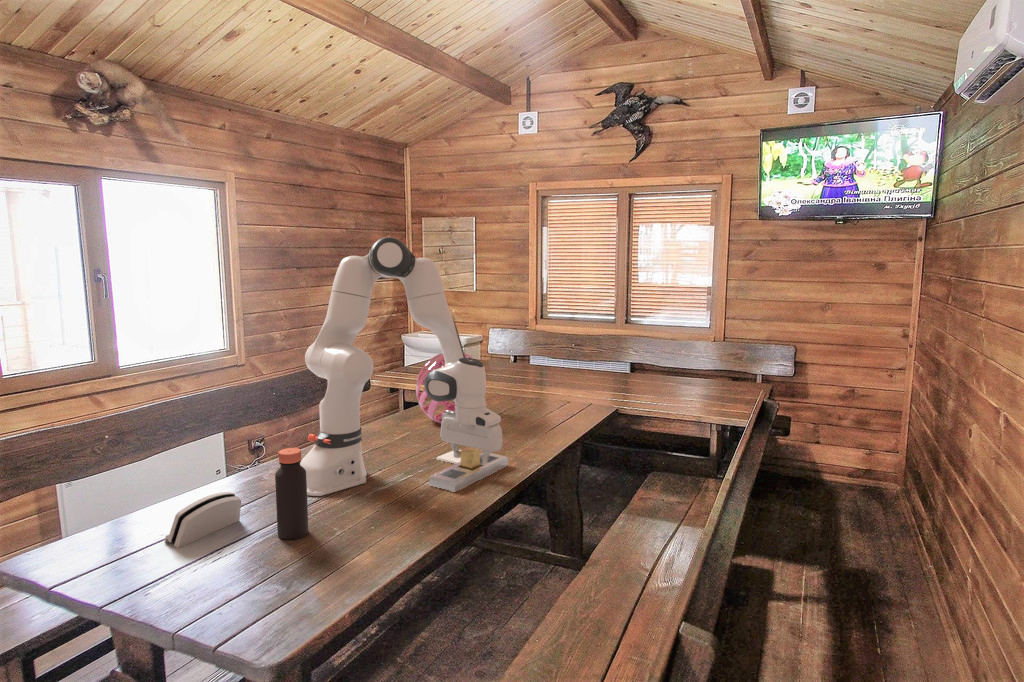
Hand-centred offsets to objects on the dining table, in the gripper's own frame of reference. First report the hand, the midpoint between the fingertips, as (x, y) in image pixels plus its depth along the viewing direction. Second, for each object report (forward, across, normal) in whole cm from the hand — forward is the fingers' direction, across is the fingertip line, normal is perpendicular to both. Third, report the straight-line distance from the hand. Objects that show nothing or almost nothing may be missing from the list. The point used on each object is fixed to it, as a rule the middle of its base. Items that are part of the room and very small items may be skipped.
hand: (470, 460), depth 189 cm
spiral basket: (+5, -42, +43) cm, 60 cm away
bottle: (+5, -11, -54) cm, 55 cm away
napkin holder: (+5, -28, -65) cm, 71 cm away
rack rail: (+5, 0, 0) cm, 5 cm away
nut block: (+5, 0, 0) cm, 5 cm away
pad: (+5, -12, +10) cm, 16 cm away
